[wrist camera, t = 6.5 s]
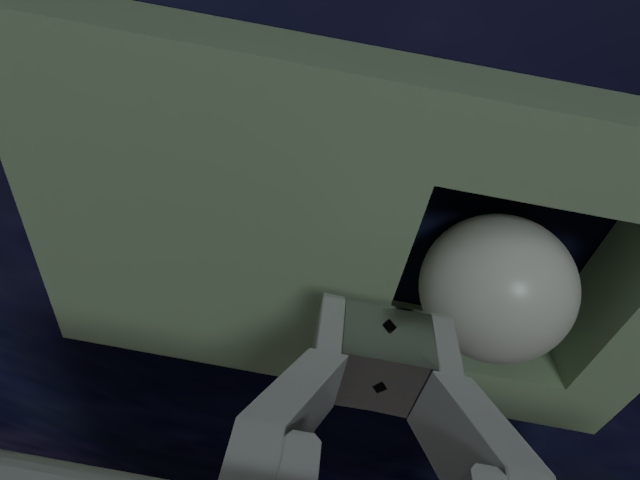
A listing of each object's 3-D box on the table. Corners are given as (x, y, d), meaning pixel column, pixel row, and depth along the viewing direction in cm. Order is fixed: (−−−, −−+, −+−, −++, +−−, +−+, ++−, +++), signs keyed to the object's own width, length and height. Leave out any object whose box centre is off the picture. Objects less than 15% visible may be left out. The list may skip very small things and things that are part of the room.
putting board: (781, 122, 10) (880, 172, 8) (567, 370, 16) (594, 434, 14) (30, -19, 10) (-57, -3, 8) (101, 285, 16) (62, 337, 14)
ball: (549, 417, 9) (383, 324, 10) (521, 375, 13) (402, 310, 14) (641, 251, 9) (459, 174, 10) (585, 257, 13) (458, 202, 14)
